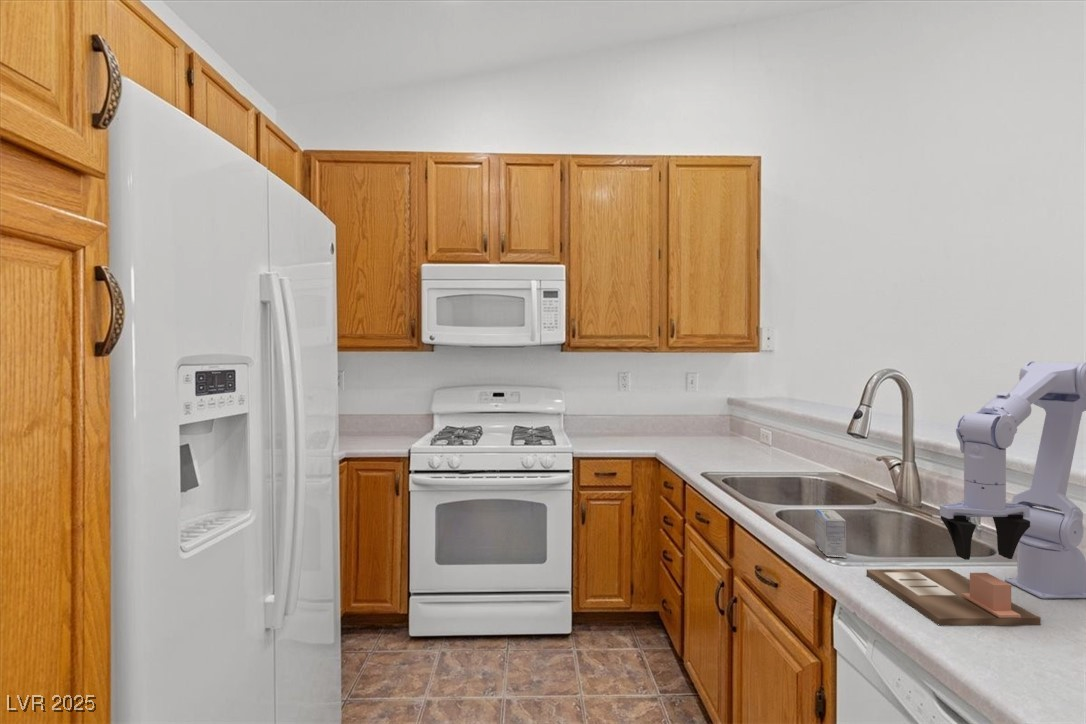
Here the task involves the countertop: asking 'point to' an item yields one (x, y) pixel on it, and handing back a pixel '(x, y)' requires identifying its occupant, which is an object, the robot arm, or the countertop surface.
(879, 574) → the ticket board
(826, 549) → the medicine box
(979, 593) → the salmon block with base
